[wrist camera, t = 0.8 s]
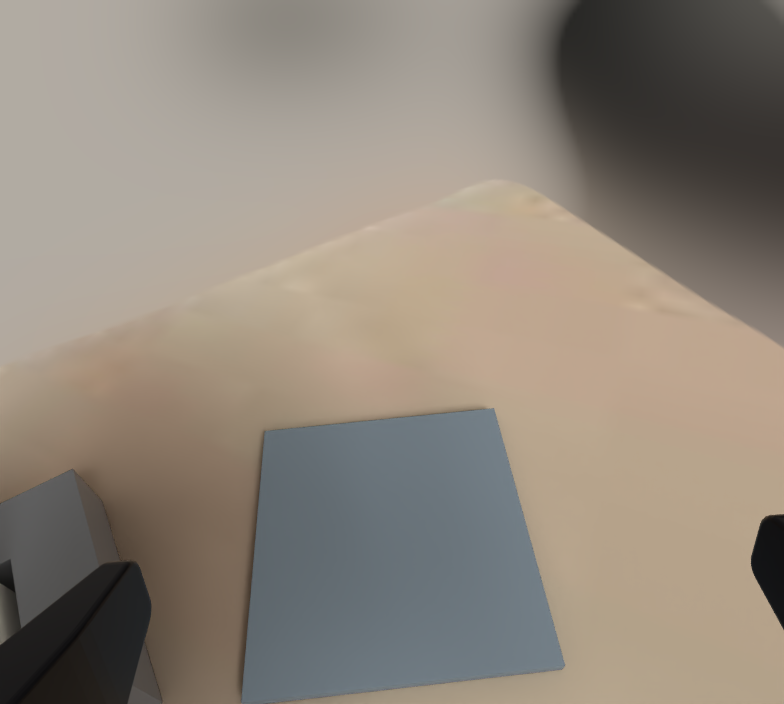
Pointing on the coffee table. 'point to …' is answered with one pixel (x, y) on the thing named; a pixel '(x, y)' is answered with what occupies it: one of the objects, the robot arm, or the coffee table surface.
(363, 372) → the coffee table surface
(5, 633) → the plug
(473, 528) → the mat
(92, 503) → the socket block
